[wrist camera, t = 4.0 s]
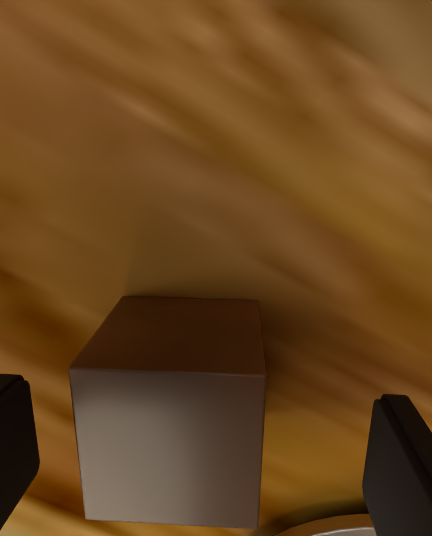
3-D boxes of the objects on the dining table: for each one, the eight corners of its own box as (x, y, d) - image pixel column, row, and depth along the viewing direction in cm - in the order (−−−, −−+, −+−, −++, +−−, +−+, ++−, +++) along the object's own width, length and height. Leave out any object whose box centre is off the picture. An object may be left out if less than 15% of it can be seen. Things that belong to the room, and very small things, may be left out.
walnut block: (129, 410, 14) (84, 520, 10) (122, 295, 13) (67, 367, 9) (252, 415, 14) (258, 530, 10) (257, 299, 13) (266, 375, 9)
